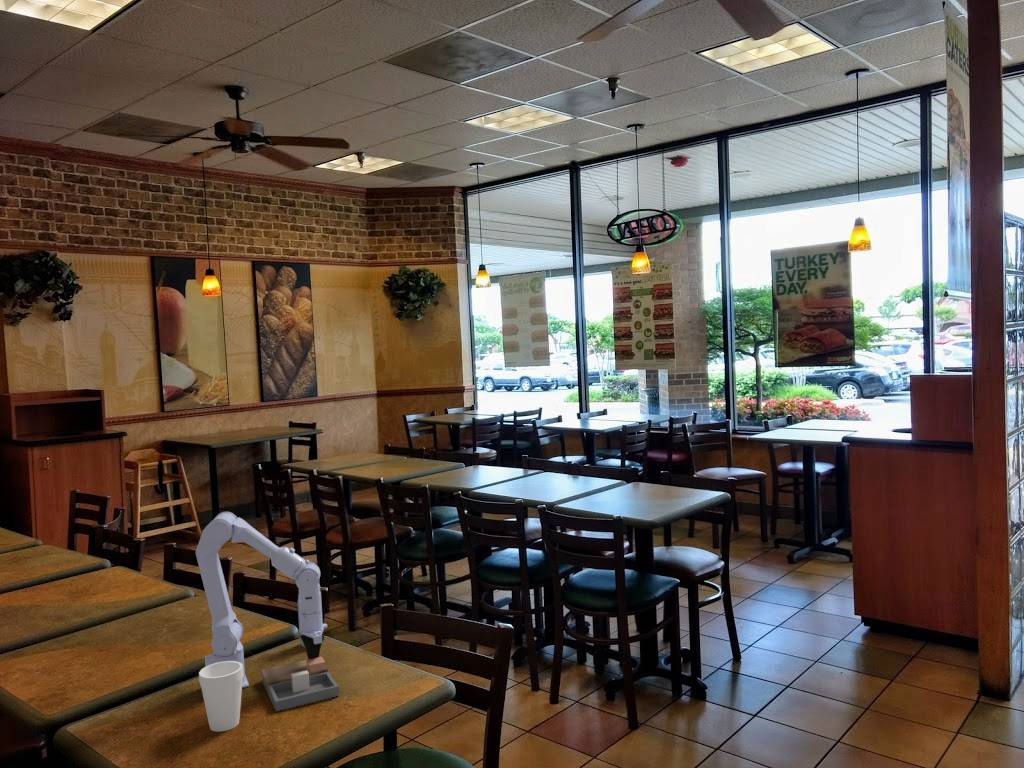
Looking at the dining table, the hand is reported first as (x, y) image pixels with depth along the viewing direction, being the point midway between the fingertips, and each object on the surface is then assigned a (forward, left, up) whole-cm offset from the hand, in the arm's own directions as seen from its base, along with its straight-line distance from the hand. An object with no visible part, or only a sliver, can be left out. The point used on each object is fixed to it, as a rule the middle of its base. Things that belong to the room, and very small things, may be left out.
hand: (313, 662), depth 201 cm
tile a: (-5, -7, -1) cm, 8 cm away
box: (-5, -11, -4) cm, 12 cm away
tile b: (0, -3, -1) cm, 3 cm away
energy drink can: (+4, +22, -4) cm, 23 cm away
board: (-5, 0, -4) cm, 6 cm away
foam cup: (-24, -16, -4) cm, 29 cm away
